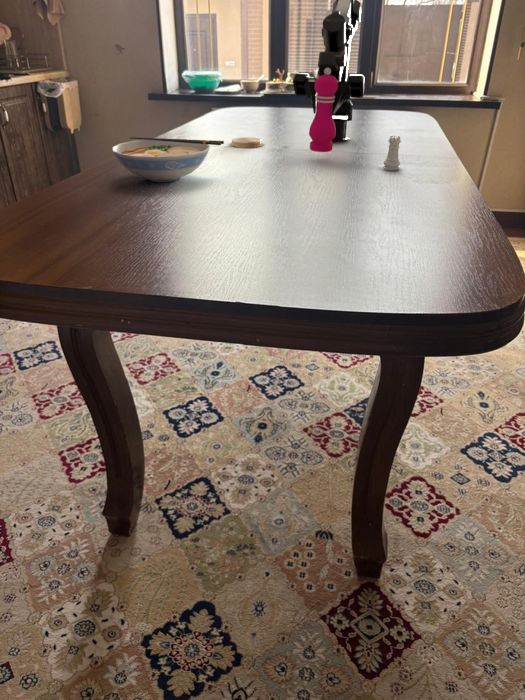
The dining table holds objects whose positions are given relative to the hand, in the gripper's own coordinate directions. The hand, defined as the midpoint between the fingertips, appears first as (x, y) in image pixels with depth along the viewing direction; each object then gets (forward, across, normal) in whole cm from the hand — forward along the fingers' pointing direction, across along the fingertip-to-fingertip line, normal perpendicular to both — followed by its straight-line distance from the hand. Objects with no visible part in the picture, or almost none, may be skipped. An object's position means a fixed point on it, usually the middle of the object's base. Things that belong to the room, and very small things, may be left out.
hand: (323, 112), depth 137 cm
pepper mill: (+6, 0, +8) cm, 10 cm away
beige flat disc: (-4, -27, +21) cm, 34 cm away
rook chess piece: (+12, +19, +6) cm, 23 cm away
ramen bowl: (+30, -33, -13) cm, 47 cm away
